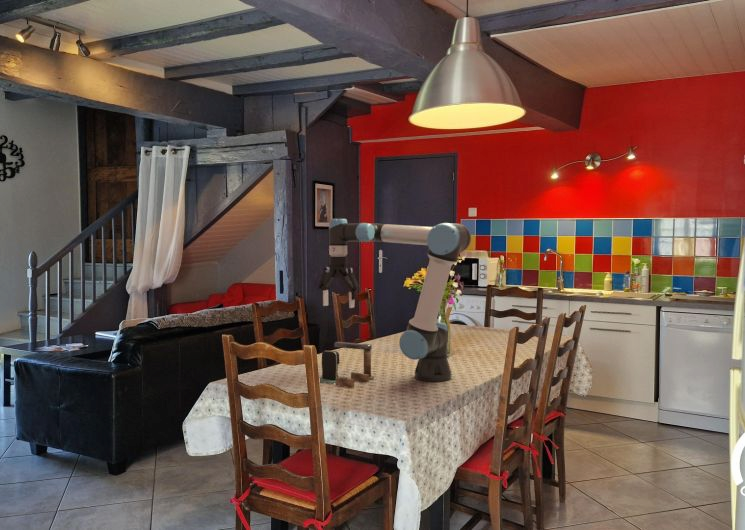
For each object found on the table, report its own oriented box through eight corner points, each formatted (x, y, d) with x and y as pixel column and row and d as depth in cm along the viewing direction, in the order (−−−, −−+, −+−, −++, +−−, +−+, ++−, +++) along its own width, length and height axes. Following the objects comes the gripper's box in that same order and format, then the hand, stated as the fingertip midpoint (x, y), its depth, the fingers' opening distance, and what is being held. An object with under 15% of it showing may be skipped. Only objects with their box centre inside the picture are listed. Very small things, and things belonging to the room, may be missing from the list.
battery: (340, 378, 258) (340, 350, 257) (335, 380, 254) (335, 352, 254) (326, 376, 261) (326, 349, 261) (321, 378, 258) (321, 350, 257)
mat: (347, 379, 259) (347, 377, 259) (332, 384, 251) (332, 382, 251) (328, 376, 265) (328, 374, 265) (312, 381, 257) (312, 379, 257)
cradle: (379, 378, 261) (378, 350, 260) (352, 387, 245) (352, 358, 244) (362, 376, 265) (362, 348, 265) (335, 385, 249) (335, 356, 249)
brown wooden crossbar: (368, 350, 258) (368, 346, 258) (333, 347, 266) (333, 342, 266) (373, 349, 261) (373, 344, 261) (338, 345, 269) (338, 341, 269)
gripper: (309, 255, 269) (309, 305, 270) (357, 256, 255) (357, 309, 257) (320, 255, 276) (320, 303, 277) (368, 256, 262) (368, 307, 263)
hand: (338, 306), depth 267 cm, fingers open, 13 cm apart
